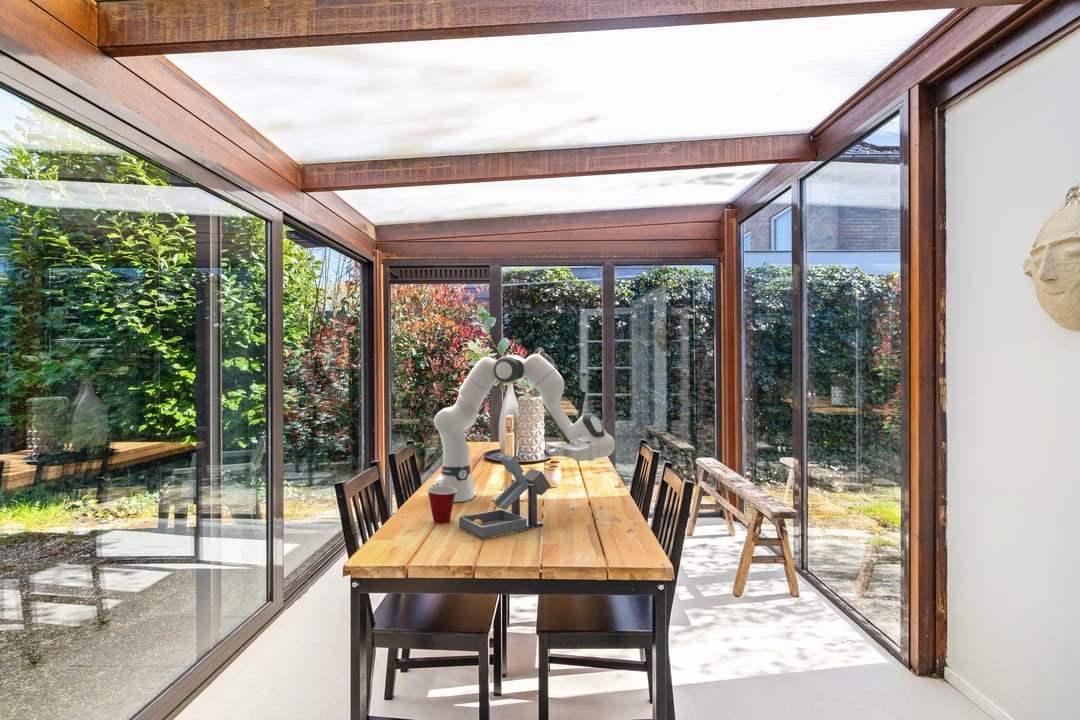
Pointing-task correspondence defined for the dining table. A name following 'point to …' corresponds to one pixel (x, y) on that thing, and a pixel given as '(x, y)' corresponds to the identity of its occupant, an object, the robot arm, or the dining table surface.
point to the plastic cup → (441, 502)
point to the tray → (493, 523)
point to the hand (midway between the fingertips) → (550, 452)
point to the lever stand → (531, 506)
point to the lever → (519, 482)
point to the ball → (478, 522)
